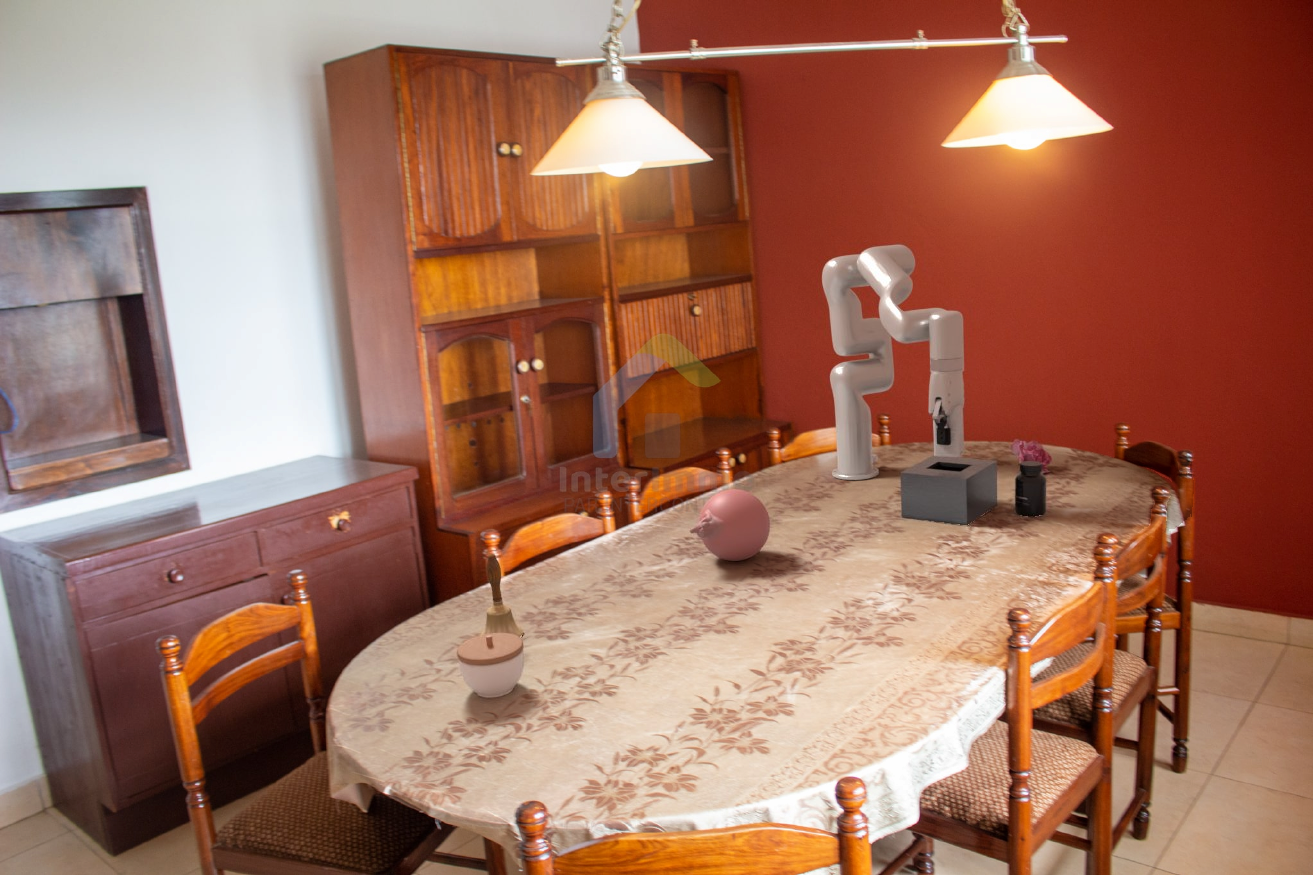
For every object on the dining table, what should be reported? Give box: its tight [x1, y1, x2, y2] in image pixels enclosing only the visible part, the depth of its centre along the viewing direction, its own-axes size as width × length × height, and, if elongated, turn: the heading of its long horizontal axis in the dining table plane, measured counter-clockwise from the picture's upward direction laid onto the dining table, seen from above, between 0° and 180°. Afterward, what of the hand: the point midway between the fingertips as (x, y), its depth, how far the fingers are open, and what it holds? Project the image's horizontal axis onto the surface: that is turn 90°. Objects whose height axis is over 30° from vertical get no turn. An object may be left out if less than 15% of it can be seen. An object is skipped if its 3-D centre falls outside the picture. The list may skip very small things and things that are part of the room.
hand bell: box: [479, 553, 525, 637], centre depth 189 cm, size 8×8×16 cm
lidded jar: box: [456, 633, 525, 699], centre depth 168 cm, size 11×11×9 cm
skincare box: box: [932, 404, 965, 458], centre depth 240 cm, size 6×4×12 cm
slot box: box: [899, 454, 998, 526], centre depth 243 cm, size 18×16×11 cm
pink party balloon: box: [689, 488, 771, 562], centre depth 220 cm, size 15×20×15 cm
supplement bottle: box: [1014, 461, 1047, 518], centre depth 237 cm, size 7×7×12 cm
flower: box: [1009, 438, 1053, 475], centre depth 273 cm, size 11×10×10 cm
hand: (948, 441), depth 241 cm, fingers closed on skincare box, 4 cm apart
